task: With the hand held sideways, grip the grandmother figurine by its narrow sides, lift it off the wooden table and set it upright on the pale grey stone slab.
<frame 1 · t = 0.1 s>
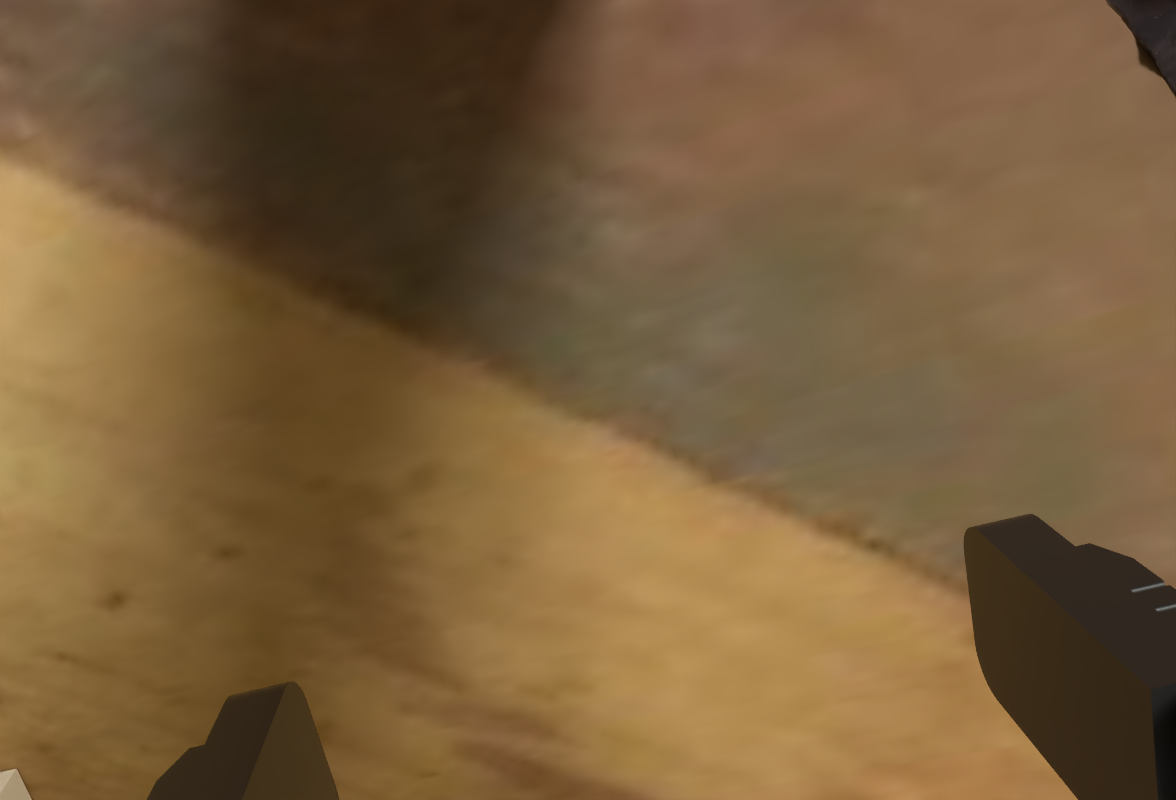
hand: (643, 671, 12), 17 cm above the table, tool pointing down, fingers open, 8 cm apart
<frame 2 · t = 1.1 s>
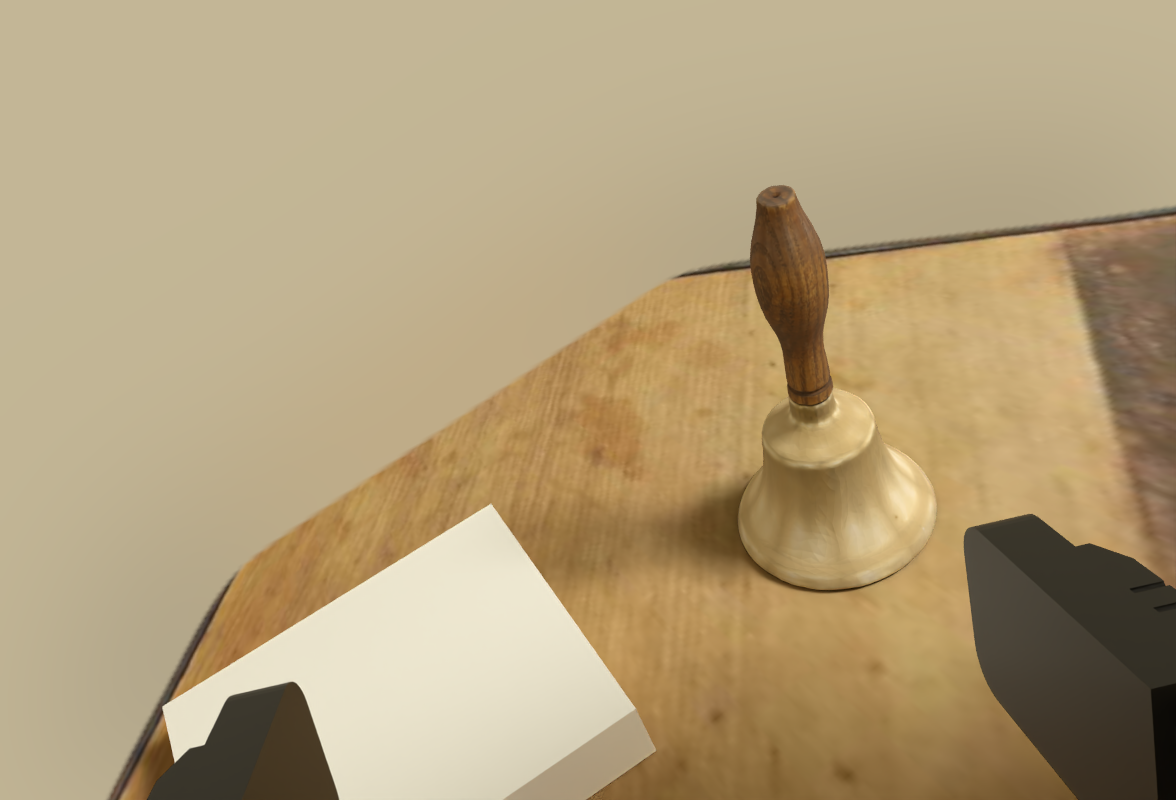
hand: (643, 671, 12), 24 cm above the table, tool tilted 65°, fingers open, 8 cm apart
stone slab: (410, 746, 42), on the table
hand bell: (835, 515, 44), on the table
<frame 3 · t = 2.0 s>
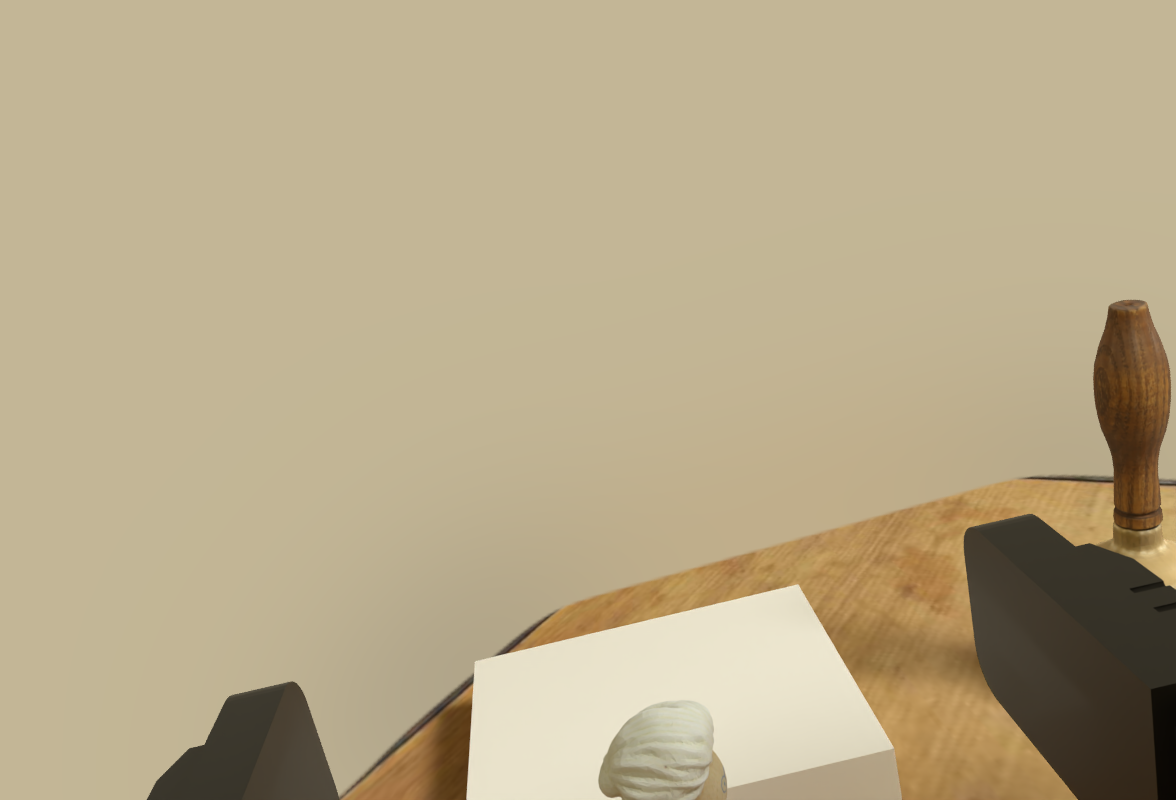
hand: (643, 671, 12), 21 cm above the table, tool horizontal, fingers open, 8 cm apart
stone slab: (668, 757, 44), on the table
hand bell: (1148, 680, 42), on the table
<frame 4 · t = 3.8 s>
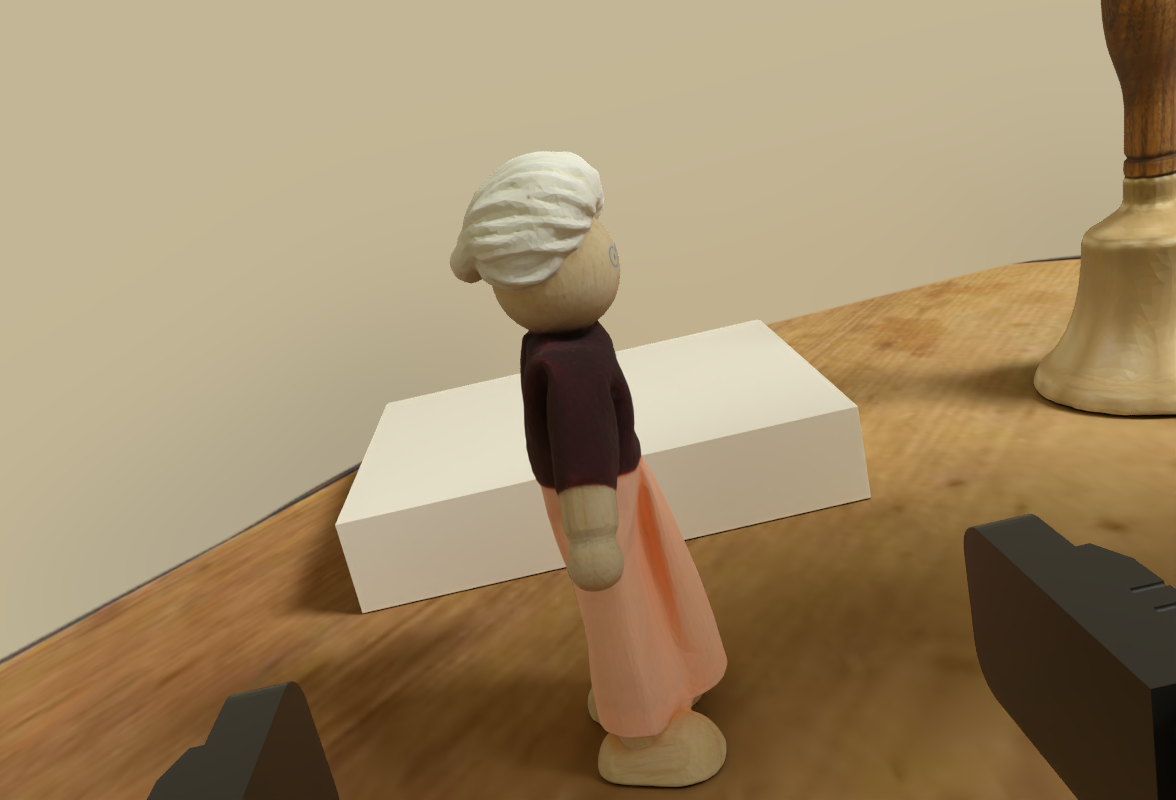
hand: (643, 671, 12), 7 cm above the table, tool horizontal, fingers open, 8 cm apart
stone slab: (600, 480, 38), on the table
grandmother figurine: (654, 720, 23), on the table
hand bell: (1162, 381, 36), on the table
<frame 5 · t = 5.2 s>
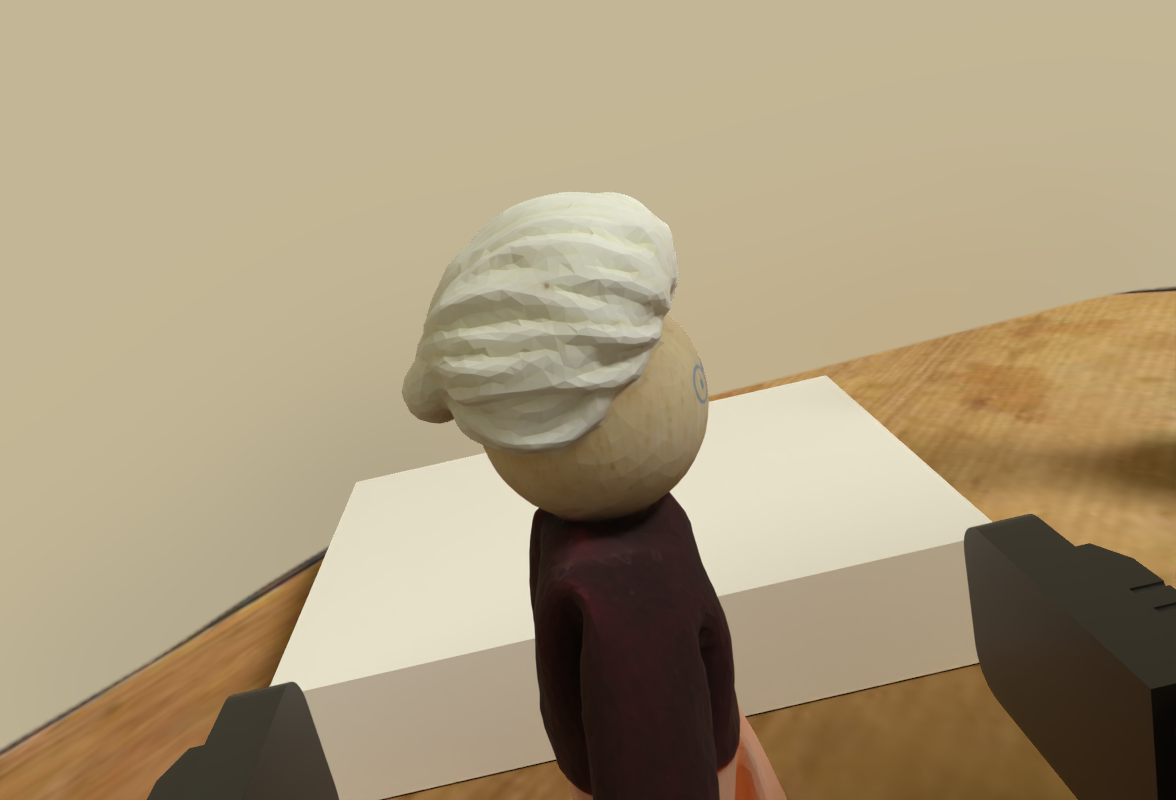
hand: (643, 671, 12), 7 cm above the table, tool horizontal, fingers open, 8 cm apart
stone slab: (630, 598, 29), on the table
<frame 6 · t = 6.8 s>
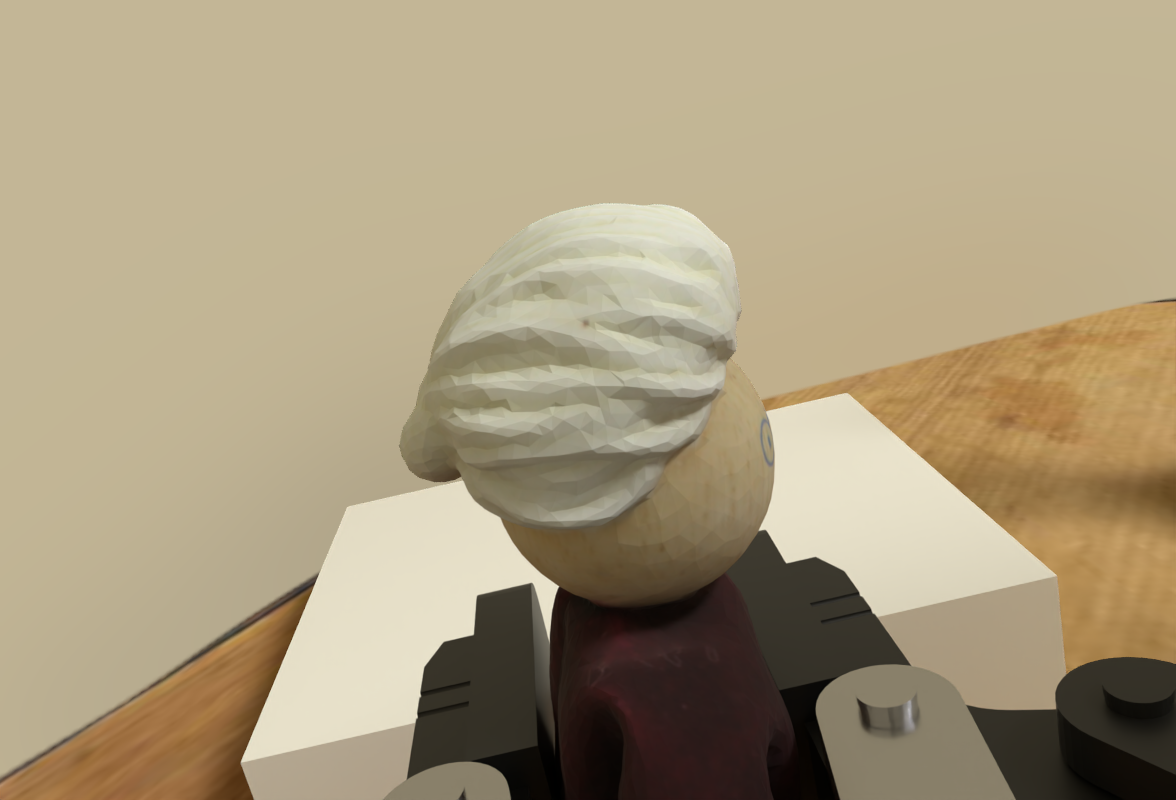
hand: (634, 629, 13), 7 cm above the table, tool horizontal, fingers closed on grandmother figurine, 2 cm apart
stone slab: (640, 636, 27), on the table
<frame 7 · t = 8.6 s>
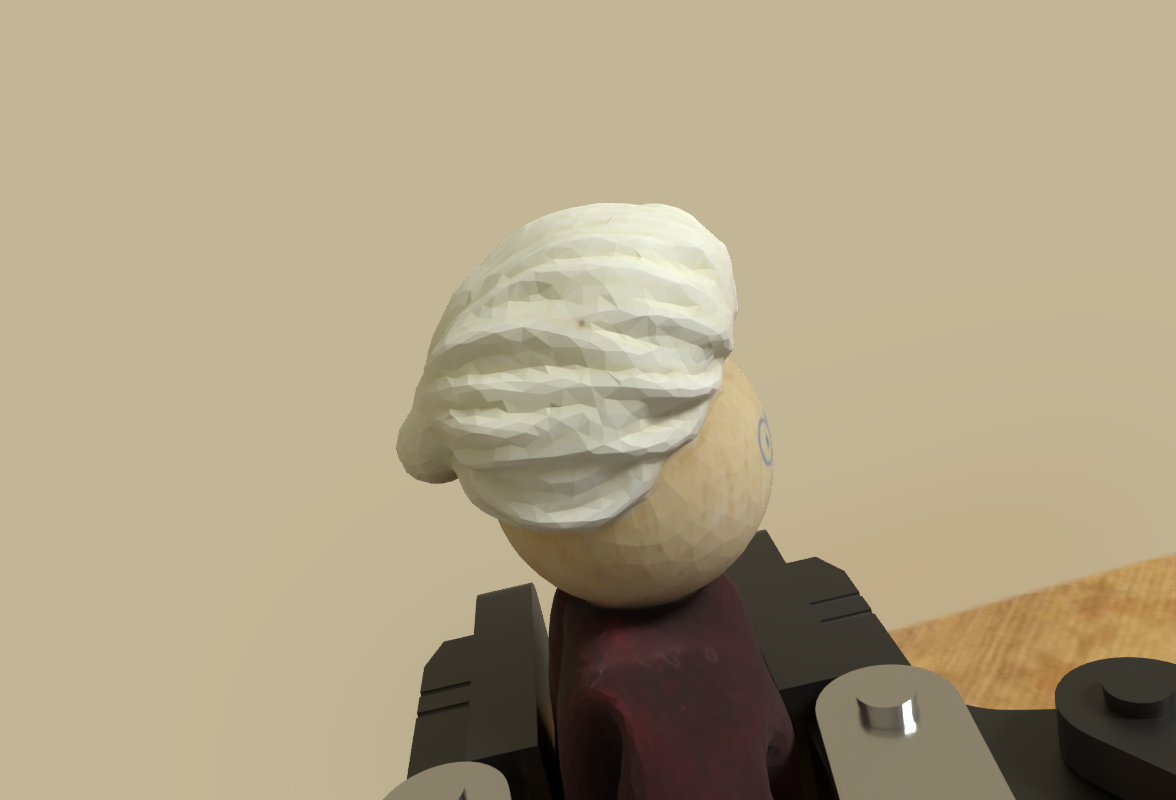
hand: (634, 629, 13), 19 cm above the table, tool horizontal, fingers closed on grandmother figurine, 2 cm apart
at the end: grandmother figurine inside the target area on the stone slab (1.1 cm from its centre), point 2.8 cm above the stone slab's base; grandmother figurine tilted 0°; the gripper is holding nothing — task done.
